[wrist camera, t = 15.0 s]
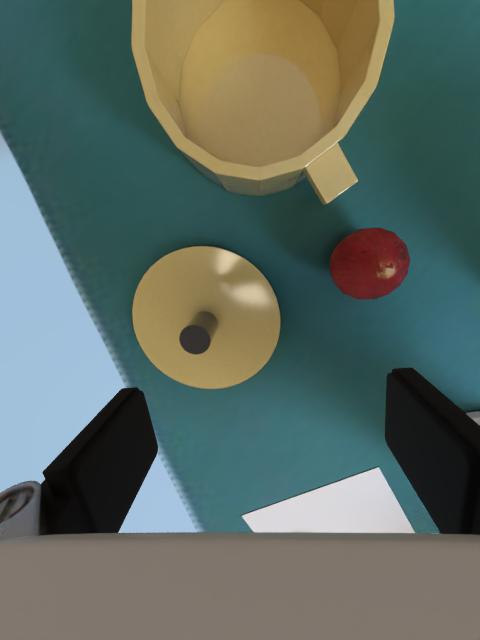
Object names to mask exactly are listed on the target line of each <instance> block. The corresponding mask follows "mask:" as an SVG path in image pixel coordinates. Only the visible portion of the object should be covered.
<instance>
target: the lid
mask: <svg viewBox="0 0 480 640" xmlns="http://www.w3.org/2000/svg"><path fill="white" fill-rule="evenodd" d="M132 316H133V325H134V330H135V333H136V337H137V339H138V342H139V344H140V346H141V348H142V349H143V351H144V353H145V354H146V356H147V357H148V358H149V360H150V361H151V362H152V363H153V364H154V365H155V366H156V367H157V368H158V369H159V370H161V371H162V372H163V373H164V374H166V375H167V376H169V377H170V378H172V379H174V380H176V381H178V382H180V383H183V384H186V385H188V386H192V387H197V388H204V389H218V388H225V387H230V386H233V385H236V384H239V383H241V382H243V381H245V380H247V379H249V378H250V377H252V376H253V375H255V374H256V373H257V372H258V371H259V370H260V369H262V368H263V366H264V365H265V364H266V363H267V362H268V360H269V359H270V357H271V356H272V354H273V352H274V350H275V348H276V345H277V342H278V339H279V334H280V322H281V318H280V310H279V305H278V302H277V298H276V296H275V293H274V291H273V289H272V287H271V285H270V284H269V282H268V280H267V279H266V278H265V276H264V275H263V274H262V273H261V271H260V270H259V269H257V268H256V267H255V266H254V265H253V264H252V263H251V262H249V261H248V260H247V259H245V258H243V257H242V256H240V255H238V254H236V253H234V252H231V251H229V250H226V249H222V248H218V247H211V246H193V247H188V248H183V249H180V250H177V251H174V252H172V253H170V254H168V255H166V256H164V257H162V258H161V259H160V260H158V261H157V262H156V263H155V264H153V265H152V266H151V267H150V268H149V270H148V271H147V272H146V273H145V275H144V276H143V278H142V279H141V281H140V283H139V285H138V287H137V290H136V292H135V296H134V300H133V309H132Z"/></svg>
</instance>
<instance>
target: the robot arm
mask: <svg viewBox="0 0 480 640" xmlns="http://www.w3.org/2000/svg"><path fill="white" fill-rule="evenodd" d="M385 439H386V442H387V445H388V447H389V448H390V450H391V452H392V453H393V455H394V457H395V458H396V460H397V462H398V463H399V465H400V467H401V468H402V470H403V471H404V473H405V475H406V476H407V478H408V480H409V481H410V483H411V485H412V486H413V488H414V490H415V491H416V493H417V495H418V496H419V498H420V500H421V501H422V503H423V505H424V506H425V508H426V509H427V511H428V513H429V514H430V516H431V518H432V519H433V521H434V523H435V524H436V526H437V528H438V529H439V531H440V533H441V534H426V533H317V532H201V533H118V532H119V530H120V528H121V525H122V524H123V521H124V519H125V517H126V515H127V513H128V511H129V509H130V507H131V505H132V503H133V501H134V499H135V497H136V495H137V493H138V491H139V489H140V487H141V485H142V483H143V481H144V479H145V477H146V475H147V473H148V471H149V469H150V467H151V465H152V463H153V461H154V459H155V457H156V455H157V451H158V444H157V440H156V437H155V433H154V429H153V426H152V422H151V418H150V415H149V411H148V407H147V404H146V400H145V396H144V393H143V392H142V391H140V390H139V389H138V388H137V387H136V388H124V389H121V390H120V391H119V392H118V393H117V394H116V395H115V396H114V398H113V399H112V400H111V401H110V402H109V403H108V404H107V405H106V406H105V407H104V408H103V409H102V410H101V411H100V412H99V413H98V414H97V416H95V417H94V418H93V420H92V421H91V422H90V423H89V424H88V425H87V426H86V427H85V428H84V429H83V430H82V431H81V432H80V433H79V434H78V435H77V436H76V437H75V439H74V440H73V441H72V442H71V443H70V444H69V445H68V446H67V447H66V448H65V449H64V450H63V451H62V453H60V455H58V456H57V458H56V459H55V460H54V461H53V462H52V463H51V464H50V465H49V466H48V467H47V468H46V469H45V470H44V471H43V475H44V477H45V480H44V481H43V483H42V484H41V485H40V484H39V483H38V482H37V481H27V482H22V483H19V484H17V485H14V486H12V487H10V488H8V489H6V490H5V491H3V492H1V493H0V640H480V411H478V412H469V413H465V412H463V411H462V410H461V409H460V408H459V407H458V406H456V405H455V404H454V403H453V402H452V401H451V400H449V399H448V398H447V397H446V396H445V395H444V394H442V393H441V392H440V391H439V390H438V389H437V388H435V387H434V386H433V385H432V384H431V383H430V382H428V381H427V380H426V379H425V378H424V377H423V376H421V375H420V374H419V373H418V372H417V371H416V370H414V369H413V368H398V369H393V370H392V373H388V375H387V390H386V418H385Z"/></svg>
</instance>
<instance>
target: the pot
mask: <svg viewBox="0 0 480 640" xmlns="http://www.w3.org/2000/svg"><path fill="white" fill-rule="evenodd" d="M393 24H394V0H132V41H131V46H132V52H133V55H134V59H135V62H136V66H137V70H138V73H139V77H140V80H141V84H142V87H143V91H144V94H145V98H146V101H147V104H148V106H149V108H150V109H151V111H152V112H153V113H154V115H155V116H156V118H157V119H158V121H159V122H160V124H161V125H162V127H163V128H164V130H165V131H166V132H167V134H168V135H169V137H170V138H171V140H172V141H173V143H174V144H175V146H176V147H177V148H178V149H179V150H180V151H181V152H182V153H183V154H184V156H185V157H186V158H187V159H188V160H189V161H190V162H191V163H192V164H193V165H194V166H195V167H196V169H197V170H198V171H199V172H200V173H201V174H203V175H204V176H206V177H207V178H209V179H210V180H212V181H213V182H214V183H216V184H217V185H219V186H221V187H222V188H224V189H225V190H227V191H229V192H234V193H239V194H243V195H251V196H263V195H269V194H274V193H277V192H280V191H283V190H286V189H289V188H291V187H293V186H295V185H296V184H297V183H299V182H300V181H301V180H303V179H304V178H306V177H307V178H308V180H309V182H310V184H311V185H312V187H313V189H314V190H315V192H316V194H317V195H318V197H319V199H320V200H321V202H322V204H323V205H326V204H328V203H329V202H330V201H332V200H333V199H335V198H336V197H337V196H339V195H340V194H341V193H343V192H344V191H346V190H347V189H348V188H350V187H351V186H352V185H354V184H355V183H357V182H358V179H357V177H356V176H355V174H354V172H353V170H352V168H351V166H350V165H349V163H348V161H347V159H346V157H345V155H344V154H343V152H342V150H341V148H340V146H339V143H340V141H341V140H342V139H343V138H344V137H345V135H346V134H347V132H348V131H349V129H350V128H351V126H352V125H353V123H354V121H355V120H356V118H357V117H358V115H359V114H360V112H361V110H362V109H363V107H364V106H365V104H366V103H367V101H368V100H369V98H370V96H371V95H372V93H373V92H374V90H375V89H376V87H377V84H378V81H379V77H380V73H381V70H382V66H383V62H384V58H385V54H386V51H387V47H388V43H389V39H390V36H391V32H392V28H393Z"/></svg>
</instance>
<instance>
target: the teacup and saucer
mask: <svg viewBox="0 0 480 640" xmlns="http://www.w3.org/2000/svg"><path fill="white" fill-rule="evenodd" d="M242 517H243V519H244V520H245V521H246V522H247V524H248V525H249V526H250V528H251V529H252V530H253V531H254V532H317V533H415V532H414V530H413V528H412V526H411V524H410V523H409V521H408V519H407V517H406V515H405V514H404V512H403V510H402V508H401V506H400V505H399V503H398V501H397V499H396V497H395V496H394V494H393V492H392V490H391V488H390V487H389V485H388V483H387V481H386V479H385V478H384V476H383V474H382V472H381V470H380V469H379V467H378V468H375V469H372V470H369V471H366V472H364V473H361V474H358V475H355V476H352V477H349V478H347V479H344V480H341V481H338V482H335V483H333V484H330V485H327V486H324V487H321V488H318V489H316V490H313V491H310V492H307V493H304V494H301V495H299V496H296V497H293V498H290V499H287V500H285V501H282V502H279V503H276V504H273V505H270V506H268V507H265V508H262V509H259V510H256V511H253V512H251V513H248V514H245V515H242Z"/></svg>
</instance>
